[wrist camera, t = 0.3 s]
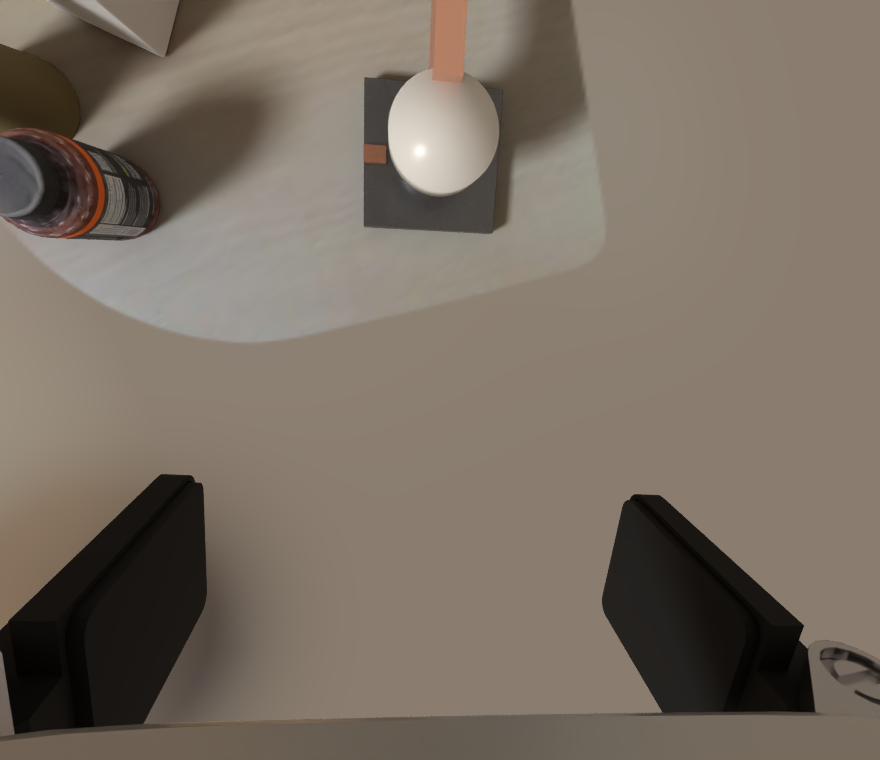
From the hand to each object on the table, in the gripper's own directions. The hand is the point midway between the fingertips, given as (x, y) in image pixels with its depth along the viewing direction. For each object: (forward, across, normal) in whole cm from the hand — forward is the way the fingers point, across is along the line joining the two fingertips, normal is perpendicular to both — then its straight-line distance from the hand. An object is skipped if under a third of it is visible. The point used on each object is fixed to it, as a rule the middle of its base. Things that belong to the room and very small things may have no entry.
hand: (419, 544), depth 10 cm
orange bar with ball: (+23, -1, -18) cm, 29 cm away
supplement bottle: (+31, +21, -8) cm, 38 cm away
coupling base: (+30, -1, -13) cm, 33 cm away
